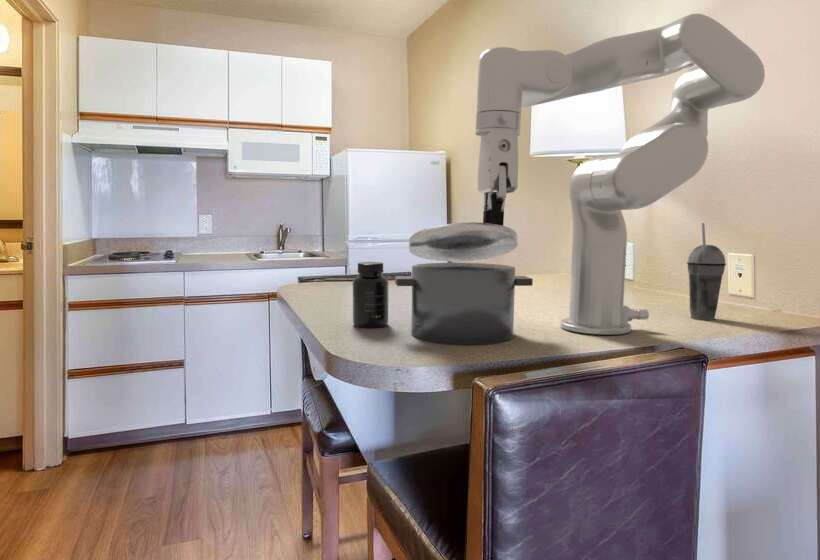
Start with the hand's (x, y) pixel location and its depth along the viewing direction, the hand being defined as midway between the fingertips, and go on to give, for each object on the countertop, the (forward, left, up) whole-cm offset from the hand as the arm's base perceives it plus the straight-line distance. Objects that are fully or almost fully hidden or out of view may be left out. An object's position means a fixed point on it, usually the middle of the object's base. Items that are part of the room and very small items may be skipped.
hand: (492, 233), depth 96 cm
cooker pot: (+5, -1, -18) cm, 18 cm away
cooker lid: (+5, -2, -3) cm, 6 cm away
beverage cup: (-49, -14, -18) cm, 54 cm away
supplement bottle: (+21, -10, -18) cm, 29 cm away
